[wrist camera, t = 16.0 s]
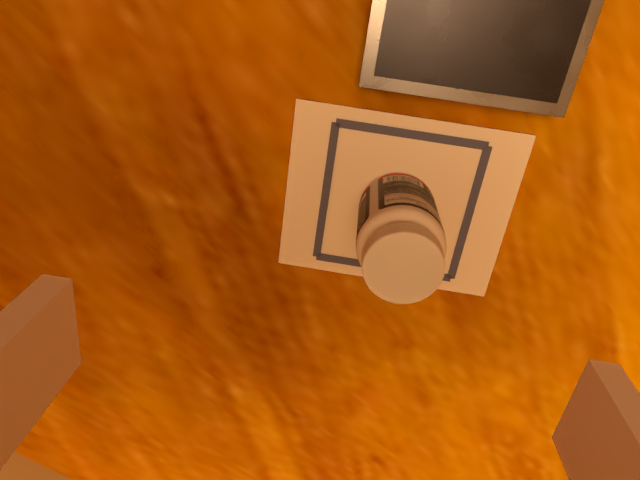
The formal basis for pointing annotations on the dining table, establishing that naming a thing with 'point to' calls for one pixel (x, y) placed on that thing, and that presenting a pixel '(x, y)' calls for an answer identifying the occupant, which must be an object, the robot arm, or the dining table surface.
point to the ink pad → (480, 50)
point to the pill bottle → (400, 239)
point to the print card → (399, 157)
